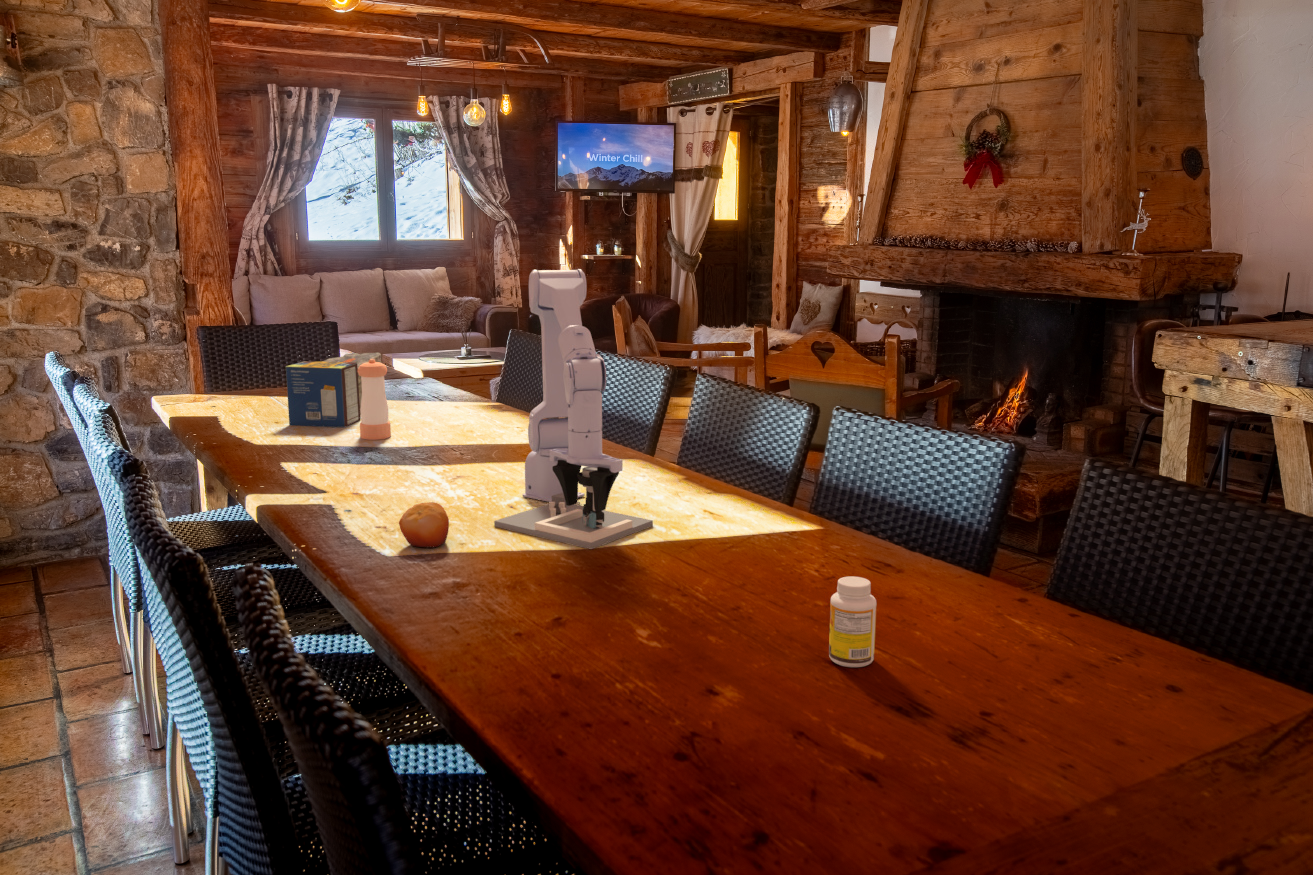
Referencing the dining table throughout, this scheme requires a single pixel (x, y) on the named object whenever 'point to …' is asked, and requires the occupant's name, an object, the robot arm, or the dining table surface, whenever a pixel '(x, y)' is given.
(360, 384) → the petrified wood
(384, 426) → the salt shaker
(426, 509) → the fruit
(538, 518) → the mat
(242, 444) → the dining table surface
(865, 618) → the supplement bottle
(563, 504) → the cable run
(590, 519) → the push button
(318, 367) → the protein box
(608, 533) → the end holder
